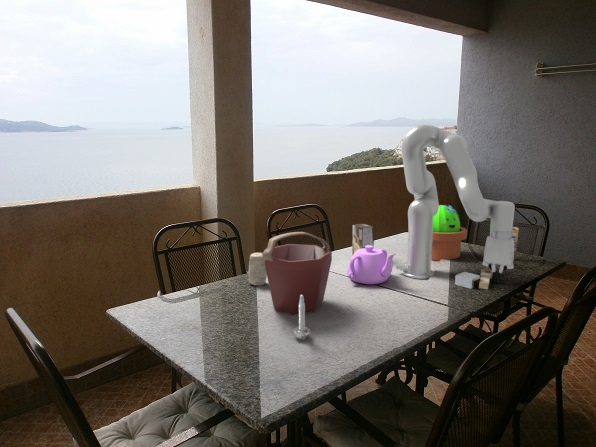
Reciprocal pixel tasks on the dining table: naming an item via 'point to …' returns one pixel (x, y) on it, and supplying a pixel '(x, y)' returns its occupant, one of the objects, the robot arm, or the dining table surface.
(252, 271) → the carving
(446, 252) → the potted cactus
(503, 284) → the dining table surface
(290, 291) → the bucket
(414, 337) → the dining table surface
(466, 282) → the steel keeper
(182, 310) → the dining table surface
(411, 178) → the robot arm
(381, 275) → the teapot
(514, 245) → the candy box
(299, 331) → the screw
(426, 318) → the dining table surface
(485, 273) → the oak link
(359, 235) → the coffee box
